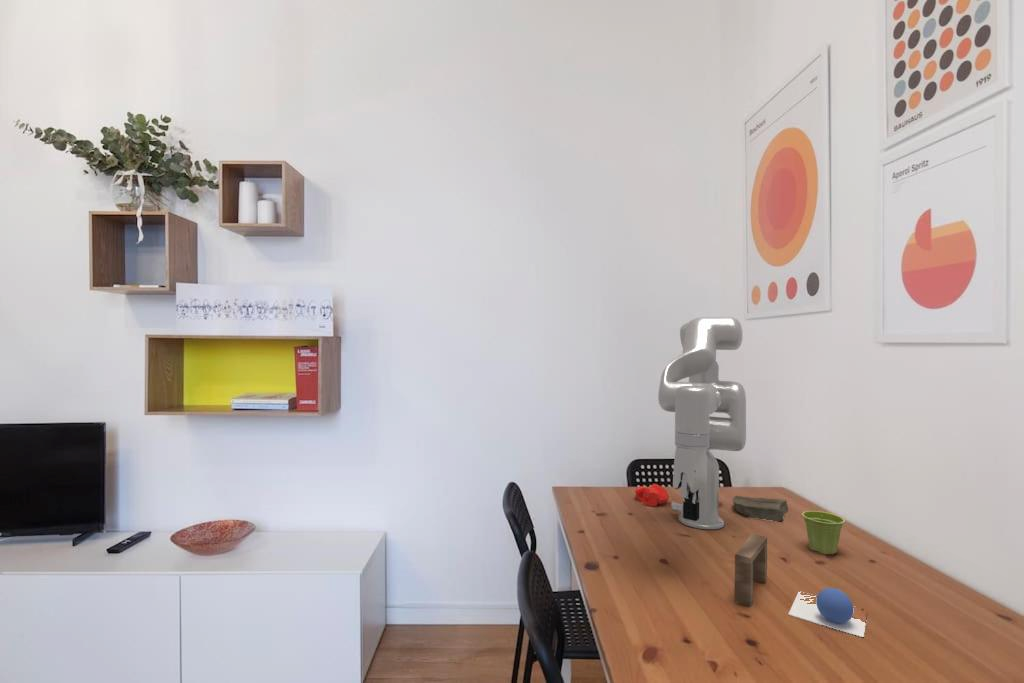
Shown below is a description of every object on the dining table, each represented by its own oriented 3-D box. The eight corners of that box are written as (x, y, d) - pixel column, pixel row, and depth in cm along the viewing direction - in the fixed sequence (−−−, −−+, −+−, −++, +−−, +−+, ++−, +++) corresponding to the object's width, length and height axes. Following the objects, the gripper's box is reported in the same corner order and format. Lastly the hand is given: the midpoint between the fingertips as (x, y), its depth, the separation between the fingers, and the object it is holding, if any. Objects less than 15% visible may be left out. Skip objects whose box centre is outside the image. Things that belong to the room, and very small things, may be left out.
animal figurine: (670, 497, 175) (671, 482, 175) (668, 509, 161) (669, 493, 161) (637, 493, 179) (637, 479, 179) (632, 504, 165) (632, 489, 165)
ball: (856, 616, 90) (831, 633, 92) (865, 607, 94) (841, 624, 96) (827, 585, 93) (804, 603, 96) (837, 578, 97) (814, 595, 100)
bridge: (734, 601, 101) (734, 554, 102) (752, 576, 113) (752, 533, 113) (750, 606, 100) (750, 558, 100) (766, 580, 111) (767, 536, 111)
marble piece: (787, 511, 162) (787, 498, 162) (795, 526, 148) (795, 511, 148) (731, 504, 168) (731, 491, 168) (734, 518, 154) (734, 504, 154)
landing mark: (788, 615, 97) (788, 614, 97) (798, 592, 106) (798, 591, 106) (863, 638, 89) (863, 637, 89) (867, 611, 99) (867, 610, 99)
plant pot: (851, 559, 123) (851, 524, 124) (809, 555, 125) (810, 521, 125) (835, 545, 133) (835, 512, 133) (796, 541, 135) (796, 509, 135)
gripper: (686, 432, 123) (686, 506, 123) (663, 442, 111) (662, 524, 112) (718, 436, 118) (717, 513, 119) (697, 447, 107) (696, 532, 107)
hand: (691, 518), depth 115 cm, fingers closed
